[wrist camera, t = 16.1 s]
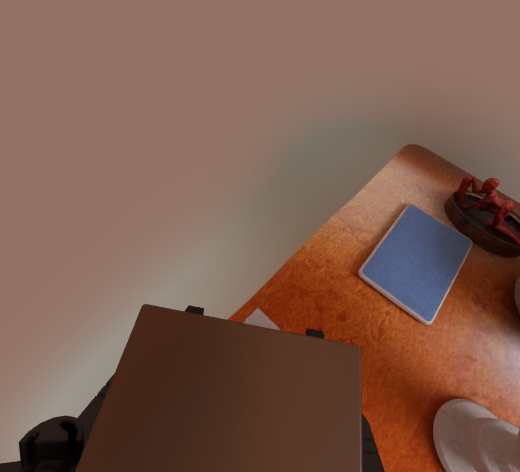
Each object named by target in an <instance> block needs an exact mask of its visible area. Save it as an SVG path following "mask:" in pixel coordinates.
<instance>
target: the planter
mask: <svg viewBox="0 0 520 472" xmlns="http://www.w3.org/2000/svg"><path fill="white" fill-rule="evenodd" d="M514 295H515V303H516V306H517V309H518V312H519V314H520V275H519V276H518V279H517V281H516V284H515V290H514Z"/></svg>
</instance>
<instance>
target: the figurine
mask: <svg viewBox="0 0 520 472" xmlns="http://www.w3.org/2000/svg"><path fill="white" fill-rule="evenodd" d="M499 182H500V181H499V180H498V179H496V178H490V179H487V180H486V181H485V182H484V184H483V186H482V189H477V184H476V178H475V177H472V176H468V177H464V178H463V180H462V182H461V185H460V187H459V190H457V191H455V192H454V193H453V194H452V195H451V197H450V198H449V199H448V200H447V201H446V202H445V205H444V208H445V212H446V214H447V216H448V218H449V219H450V221H451V222H452V223H453V225H454V226H455V227H456V228H457V229H458V230H459V231H460V232H461V233H462V234H463V235H464V236H466V237H468V238H469V239H471V240H472V242H474V243H475V244H477V245H478V246H480V247H482V248H483V249H485V250H487V251H489V252H491V253H493V254H496V255H499V256H502V257H507V258H511V257H514V258H516V257H519V256H520V216H519V215H517V214H516V213H515V212H513V211H512V210H511V209H512V207H513V206H514V205H515V203H514V202H513V201H510V200H502V199H499V198H498V196H497V193H496V191H495V188H496V187H497V186H498V185H499ZM471 183H472V191H470V190H467V189H468V187H469V186H470V184H471ZM483 194H486V196H485V195H483Z"/></svg>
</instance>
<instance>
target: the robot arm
mask: <svg viewBox="0 0 520 472" xmlns="http://www.w3.org/2000/svg"><path fill="white" fill-rule="evenodd" d="M185 312H189V313H194V314H199V315H203V313H204V308H200V307H194V306H188V307H187V309H186V310H185ZM306 335H307V336H312V337H317V338H322V339H325V338H324V334H323V331H318V330H313V329H308V328H307V331H306ZM114 374H115V373H114ZM113 377H114V375H113V376H112V377H111V378H110V380H109V381H108V382H107V383H106V386H104V387H103V388H102V389H101V390H100V392H99V393H98V395H97V396H95V398H94V399H93V400H92V401H91V402H90V404H89V405H88V406H87V407H86V408H85V410H84V411H83V412H82V413H81V415H80V416H79V417H78V418H75V417H70V416H61V417H55V418H52V419H49V420H47V421H45V422H42V423H40V424H39V425H37V426H36V427H34V428H33V429H32V430H30V431H29V432H28V433H27V434H26V435H25V436H24V437H23V438H22V439H21V440H20V442H19V449H20V459H21V461H17V462H9V463H1V464H0V472H75V471H76V468H77V466H78V463H79V461H80V458H81V456H82V453H83V451H84V448H85V446H86V443H87V441H88V438H89V436H90V434H91V431H92V429H93V426H94V424H95V421H96V419H97V416H98V414H99V411H100V409H101V406H102V404H103V401H104V399H105V396H106V394H107V391H108V389H109V387H110V384H111V382H112V379H113ZM362 472H385V471H384V468H383V465H382V462H381V459H380V456H379V455H378V450H377V447H376V444H375V442H374V437H373V434H372V431H371V428H370V425H369V423H368V421H367V420H366V418H365V417H364V416H363V414H362Z"/></svg>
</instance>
